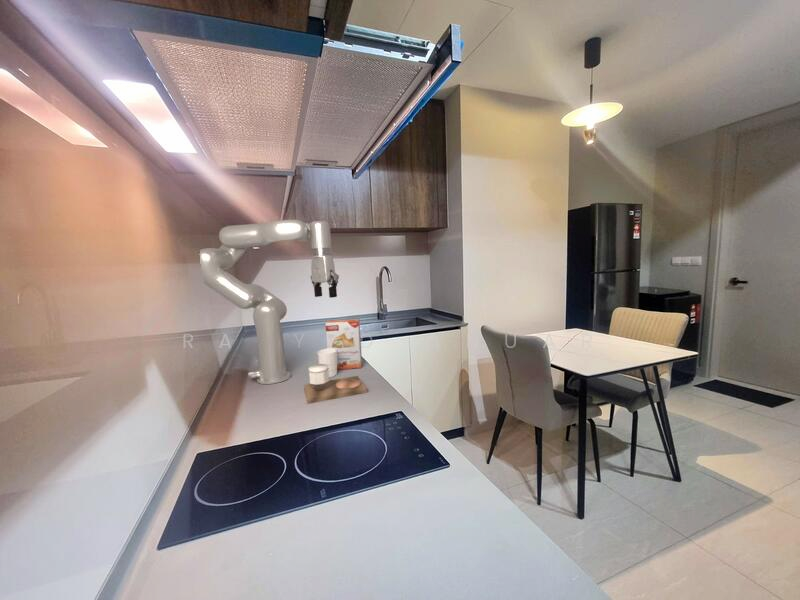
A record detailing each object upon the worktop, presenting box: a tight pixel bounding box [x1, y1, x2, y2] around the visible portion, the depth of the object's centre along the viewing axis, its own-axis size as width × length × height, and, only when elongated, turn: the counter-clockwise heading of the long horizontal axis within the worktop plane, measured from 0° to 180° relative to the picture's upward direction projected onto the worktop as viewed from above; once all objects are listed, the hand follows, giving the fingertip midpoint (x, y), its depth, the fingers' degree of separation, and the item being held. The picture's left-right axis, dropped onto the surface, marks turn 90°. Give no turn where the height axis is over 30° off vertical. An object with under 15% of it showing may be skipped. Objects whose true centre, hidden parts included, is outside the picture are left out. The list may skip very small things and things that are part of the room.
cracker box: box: [325, 318, 363, 370], centre depth 138 cm, size 14×6×21 cm, turn 92°
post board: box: [303, 375, 368, 405], centre depth 113 cm, size 20×14×8 cm
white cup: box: [316, 348, 338, 378], centre depth 130 cm, size 8×8×10 cm
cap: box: [308, 363, 330, 385], centre depth 111 cm, size 7×7×5 cm
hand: (325, 296), depth 127 cm, fingers open, 9 cm apart
